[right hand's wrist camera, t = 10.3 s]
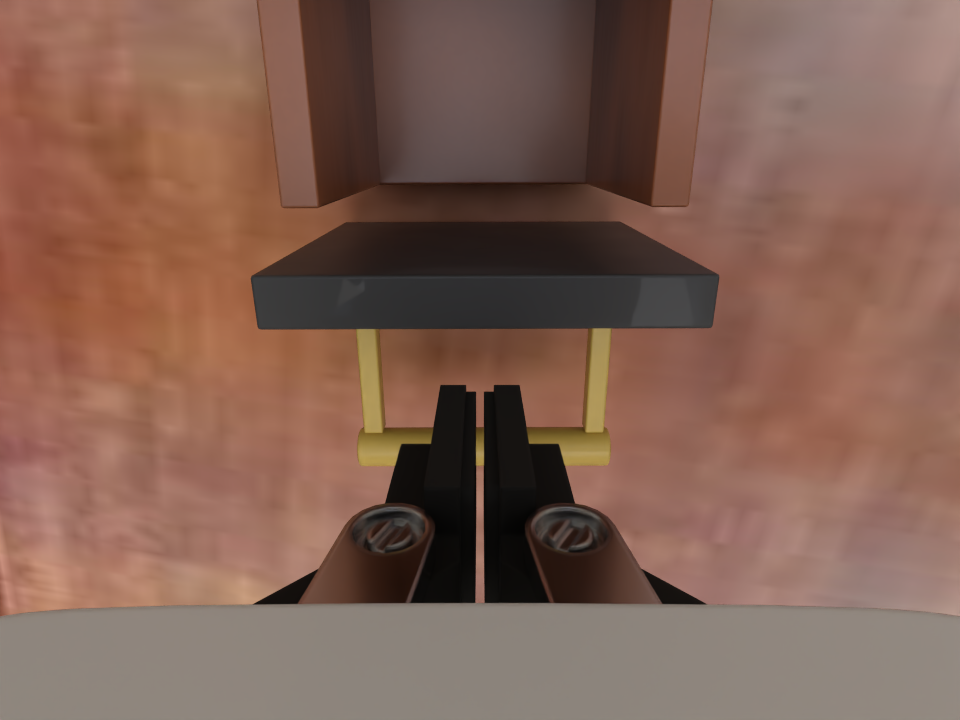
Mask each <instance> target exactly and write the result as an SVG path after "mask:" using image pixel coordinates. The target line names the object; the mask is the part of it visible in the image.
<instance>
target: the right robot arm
mask: <svg viewBox="0 0 960 720" xmlns="http://www.w3.org/2000/svg"><path fill="white" fill-rule="evenodd" d="M475 585H476V392H466V385H441V386H440V391H439V397H438V403H437V409H436V415H435V421H434V427H433V433H432V439H431V444H401V446H400V449H399V453H398V457H397V461H396V464H395V468H394V472H393V476H392V479H391V483H390V487H389V491H388V494H387V498H386V502H385V504H380V505H375V506H372V507H370V508H367V509H364V510H362V511H361V512H359V513H358V514H356V515H354V516H353V517H352V518H351V519H350V520H349V521H348V522H347V524H346V525H345V526H344V528H343V530H342V531H341V533H340V534H339V536H338V538H337V539H336V541H335V543H334V544H333V546H332V548H331V549H330V551H329V553H328V554H327V556H326V558H325V559H324V561H323V563H322V564H321V566H320V568H319V569H317V570H315V571H314V572H312V573H310V574H308V575H306V576H304V577H303V578H301V579H299V580H297V581H295V582H293V583H291V584H290V585H288V586H286V587H284V588H282V589H280V590H278V591H277V592H275V593H273V594H271V595H269V596H267V597H266V598H264V599H262V600H260V601H258V602H256V603H254V604H253V605H177V606H144V607H114V608H83V609H62V610H51V611H40V612H29V613H19V614H12V615H6V616H0V720H960V616H955V615H948V614H941V613H931V612H921V611H910V610H898V609H878V608H850V607H816V606H779V605H707V604H706V603H704V602H702V601H700V600H698V599H696V598H694V597H693V596H691V595H689V594H687V593H685V592H683V591H682V590H680V589H678V588H676V587H674V586H672V585H670V584H669V583H667V582H665V581H663V580H661V579H659V578H657V577H656V576H654V575H652V574H650V573H648V572H646V571H645V570H643V569H641V568H640V566H639V564H638V563H637V561H636V559H635V558H634V556H633V554H632V553H631V551H630V549H629V548H628V546H627V544H626V543H625V541H624V539H623V538H622V536H621V534H620V533H619V531H618V530H617V528H616V526H615V525H614V524H613V522H612V521H611V520H610V519H609V518H608V517H607V516H606V515H604V514H602V513H601V512H599V511H598V510H596V509H593V508H590V507H588V506H585V505H580V504H575V502H574V498H573V494H572V491H571V487H570V483H569V479H568V476H567V472H566V468H565V464H564V461H563V457H562V453H561V449H560V446H559V444H529V439H528V433H527V427H526V421H525V415H524V409H523V403H522V397H521V391H520V386H519V385H494V392H484V586H485V603H475Z"/></svg>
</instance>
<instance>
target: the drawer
mask: <svg viewBox="0 0 960 720" xmlns="http://www.w3.org/2000/svg"><path fill="white" fill-rule="evenodd" d="M712 3H713V0H257V7H258V15H259V24H260V32H261V41H262V49H263V58H264V66H265V75H266V83H267V91H268V100H269V108H270V117H271V125H272V134H273V142H274V151H275V159H276V168H277V176H278V185H279V193H280V201H281V206H282V208H319V207H321V206H324V205H327V204H329V203H332V202H335V201H337V200H340V199H343V198H345V197H348V196H350V195H353V194H356V193H358V192H361V191H364V190H366V189H369V188H372V187H374V186H377V185H413V184H589V185H591V186H594V187H597V188H600V189H603V190H606V191H609V192H611V193H614V194H617V195H620V196H623V197H626V198H629V199H631V200H634V201H637V202H640V203H643V204H646V205H649V206H651V207H686V206H688V205H689V199H690V190H691V182H692V173H693V165H694V156H695V148H696V139H697V131H698V122H699V114H700V105H701V97H702V88H703V80H704V71H705V63H706V54H707V46H708V37H709V29H710V20H711V12H712ZM718 282H719V275H718V274H716V273H715V272H713V271H711V270H709V269H707V268H705V267H703V266H702V265H700V264H698V263H696V262H694V261H692V260H690V259H688V258H687V257H685V256H683V255H681V254H679V253H677V252H675V251H674V250H672V249H670V248H668V247H666V246H664V245H662V244H661V243H659V242H657V241H655V240H653V239H651V238H649V237H648V236H646V235H644V234H642V233H640V232H638V231H636V230H635V229H633V228H631V227H629V226H627V225H625V224H623V223H621V222H356V223H344V224H342V225H341V226H339V227H337V228H335V229H334V230H332V231H330V232H328V233H327V234H325V235H323V236H321V237H320V238H318V239H316V240H314V241H313V242H311V243H309V244H307V245H305V246H304V247H302V248H300V249H298V250H297V251H295V252H293V253H291V254H290V255H288V256H286V257H284V258H283V259H281V260H279V261H277V262H276V263H274V264H272V265H270V266H268V267H267V268H265V269H263V270H261V271H260V272H258V273H256V274H254V275H253V276H251V283H252V290H253V297H254V304H255V311H256V318H257V325H258V328H259V329H356V336H357V348H358V361H359V373H360V385H361V398H362V410H363V423H364V428H362V429H361V430H360V432H359V436H358V443H357V455H358V461H359V464H360V465H361V466H395V464H396V461H397V457H398V453H399V449H400V446H401V444H431V439H432V433H433V428H384V427H385V409H384V394H383V379H382V364H381V348H380V333H379V329H581V328H588V341H587V357H586V372H585V388H584V403H583V419H582V425H583V427H527V433H528V439H529V444H559V446H560V449H561V453H562V457H563V461H564V464H565V466H600V465H608V463H609V460H610V455H611V443H610V436H609V432H608V430H607V428H605V427H604V420H605V408H606V395H607V382H608V370H609V357H610V344H611V332H612V328H711V327H712V325H713V318H714V311H715V304H716V297H717V290H718ZM476 466H484V427H476Z"/></svg>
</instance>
